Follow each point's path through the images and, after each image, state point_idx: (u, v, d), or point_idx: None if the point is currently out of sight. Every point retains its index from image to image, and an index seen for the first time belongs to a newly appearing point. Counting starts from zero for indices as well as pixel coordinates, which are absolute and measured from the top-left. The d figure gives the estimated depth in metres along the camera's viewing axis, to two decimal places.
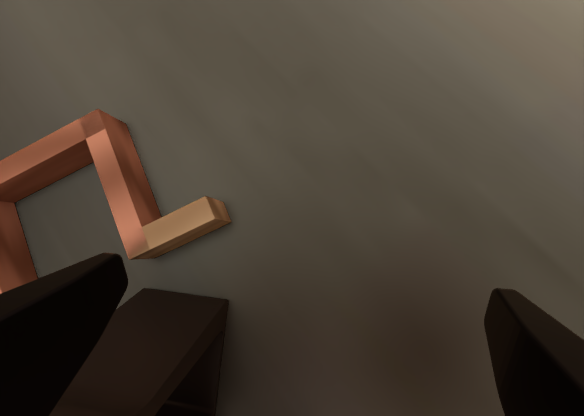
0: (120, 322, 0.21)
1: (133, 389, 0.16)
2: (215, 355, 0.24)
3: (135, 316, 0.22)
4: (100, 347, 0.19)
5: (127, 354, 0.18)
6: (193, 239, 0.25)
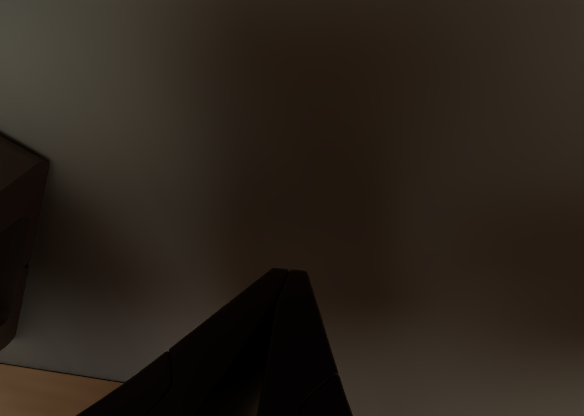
0: None
1: None
2: (14, 246, 0.12)
3: None
4: None
5: None
6: None
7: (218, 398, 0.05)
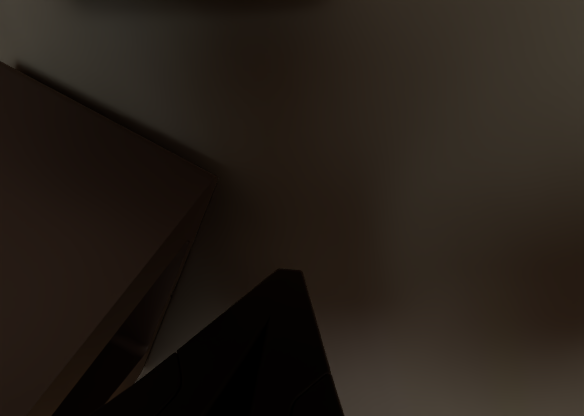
0: None
1: None
2: (165, 273, 0.11)
3: None
4: None
5: None
6: None
7: (227, 399, 0.05)
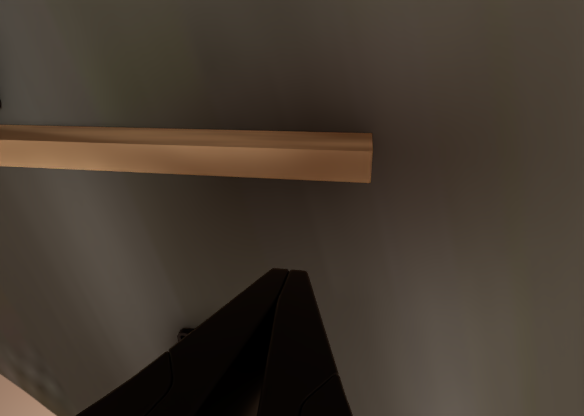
0: None
1: None
2: None
3: None
4: None
5: None
6: None
7: (218, 398, 0.05)
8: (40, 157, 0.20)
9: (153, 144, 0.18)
